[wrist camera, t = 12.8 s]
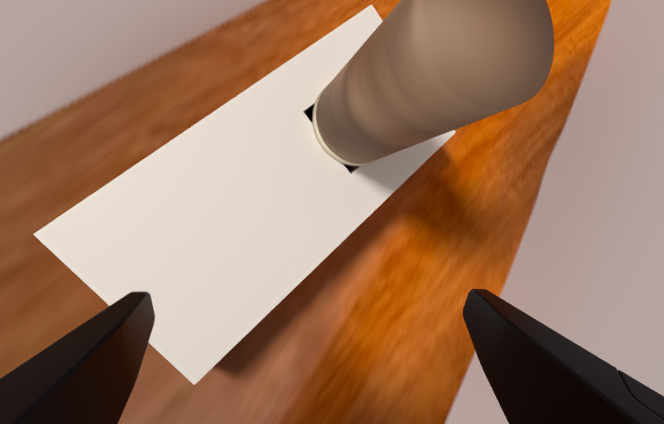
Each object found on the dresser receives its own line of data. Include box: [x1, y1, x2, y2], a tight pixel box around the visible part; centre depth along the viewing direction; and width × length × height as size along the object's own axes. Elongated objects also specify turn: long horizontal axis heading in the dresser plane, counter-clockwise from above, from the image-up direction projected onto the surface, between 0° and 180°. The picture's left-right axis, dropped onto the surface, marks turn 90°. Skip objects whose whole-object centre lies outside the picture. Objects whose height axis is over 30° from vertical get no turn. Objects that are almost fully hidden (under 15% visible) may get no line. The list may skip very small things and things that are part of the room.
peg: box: [312, 0, 554, 166], centre depth 16 cm, size 5×5×13 cm
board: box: [33, 5, 456, 385], centre depth 20 cm, size 22×10×3 cm, turn 130°
